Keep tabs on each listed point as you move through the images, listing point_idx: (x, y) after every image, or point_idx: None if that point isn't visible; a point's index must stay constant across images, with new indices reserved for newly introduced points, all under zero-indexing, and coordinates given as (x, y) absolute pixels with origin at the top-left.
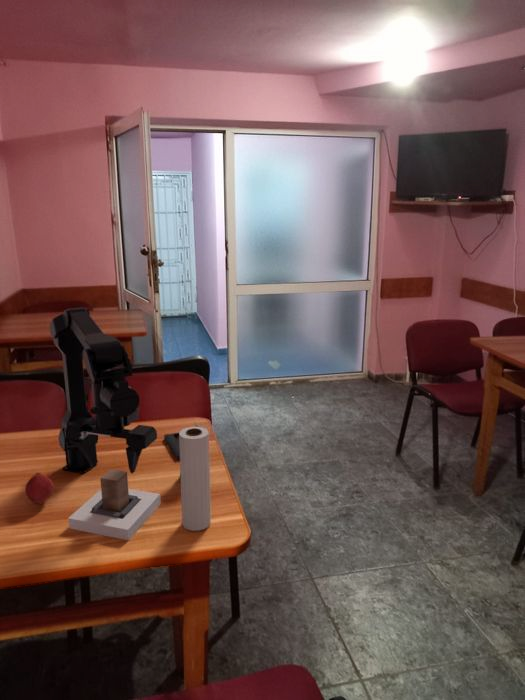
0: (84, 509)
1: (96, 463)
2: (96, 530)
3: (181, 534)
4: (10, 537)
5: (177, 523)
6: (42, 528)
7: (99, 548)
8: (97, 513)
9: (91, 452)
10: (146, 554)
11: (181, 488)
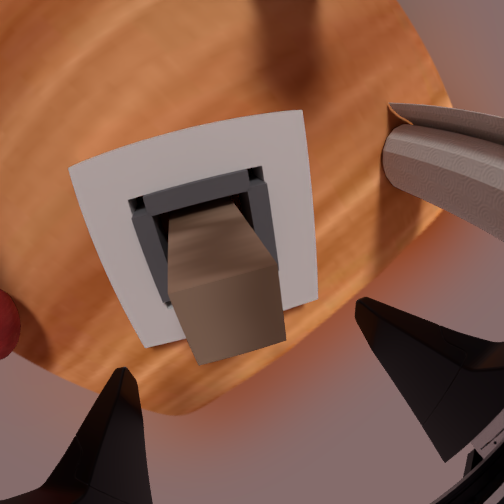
0: (142, 307)
1: (126, 377)
2: None
3: (392, 205)
4: (89, 385)
5: (371, 174)
6: (100, 351)
7: None
8: None
9: (131, 464)
10: (357, 288)
11: (467, 214)
